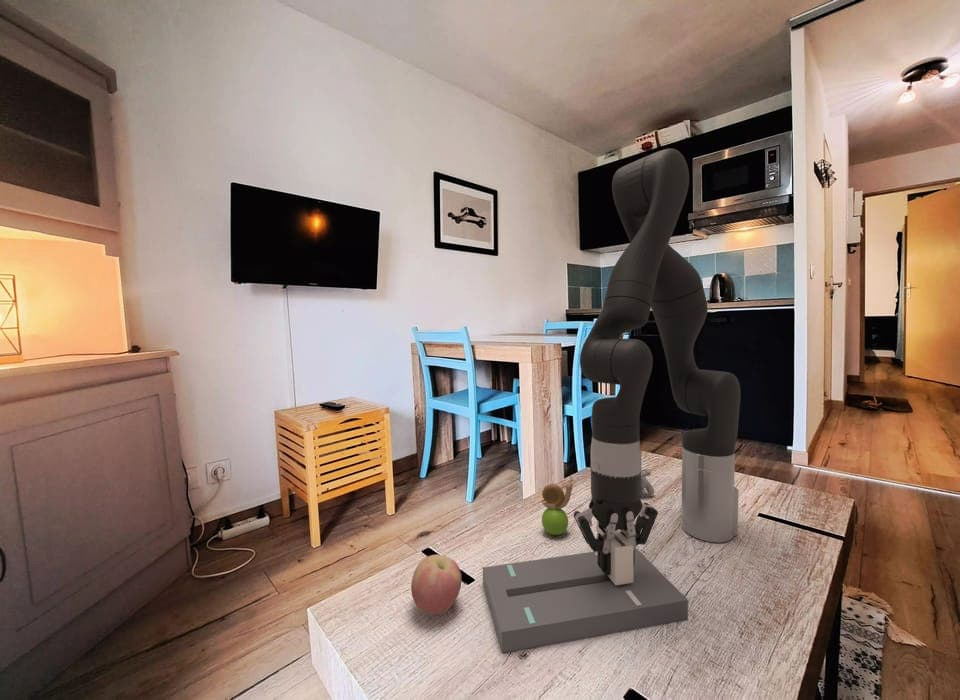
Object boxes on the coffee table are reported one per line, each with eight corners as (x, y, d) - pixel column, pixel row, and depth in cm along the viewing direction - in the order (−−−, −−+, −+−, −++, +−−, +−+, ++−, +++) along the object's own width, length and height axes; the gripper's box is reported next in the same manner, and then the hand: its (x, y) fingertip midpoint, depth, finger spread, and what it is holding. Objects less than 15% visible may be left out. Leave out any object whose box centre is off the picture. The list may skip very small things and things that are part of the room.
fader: (616, 562, 65) (616, 527, 65) (633, 582, 60) (633, 544, 60) (599, 565, 65) (599, 529, 64) (615, 585, 60) (615, 547, 59)
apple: (441, 636, 55) (439, 583, 55) (401, 616, 59) (399, 566, 59) (471, 601, 62) (470, 553, 61) (434, 585, 66) (432, 540, 66)
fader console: (634, 561, 71) (634, 545, 71) (687, 619, 57) (688, 599, 57) (483, 584, 66) (482, 566, 66) (502, 653, 52) (501, 631, 52)
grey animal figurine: (633, 504, 93) (633, 472, 92) (598, 485, 104) (597, 457, 103) (660, 495, 96) (661, 465, 96) (624, 478, 107) (624, 451, 107)
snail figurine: (573, 542, 78) (573, 483, 77) (541, 539, 79) (540, 482, 78) (572, 527, 83) (572, 472, 82) (542, 525, 84) (541, 471, 83)
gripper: (642, 453, 66) (642, 551, 67) (563, 461, 64) (565, 562, 65) (671, 470, 59) (670, 579, 60) (584, 479, 56) (585, 593, 58)
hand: (615, 569), depth 62 cm, fingers closed on fader, 3 cm apart
